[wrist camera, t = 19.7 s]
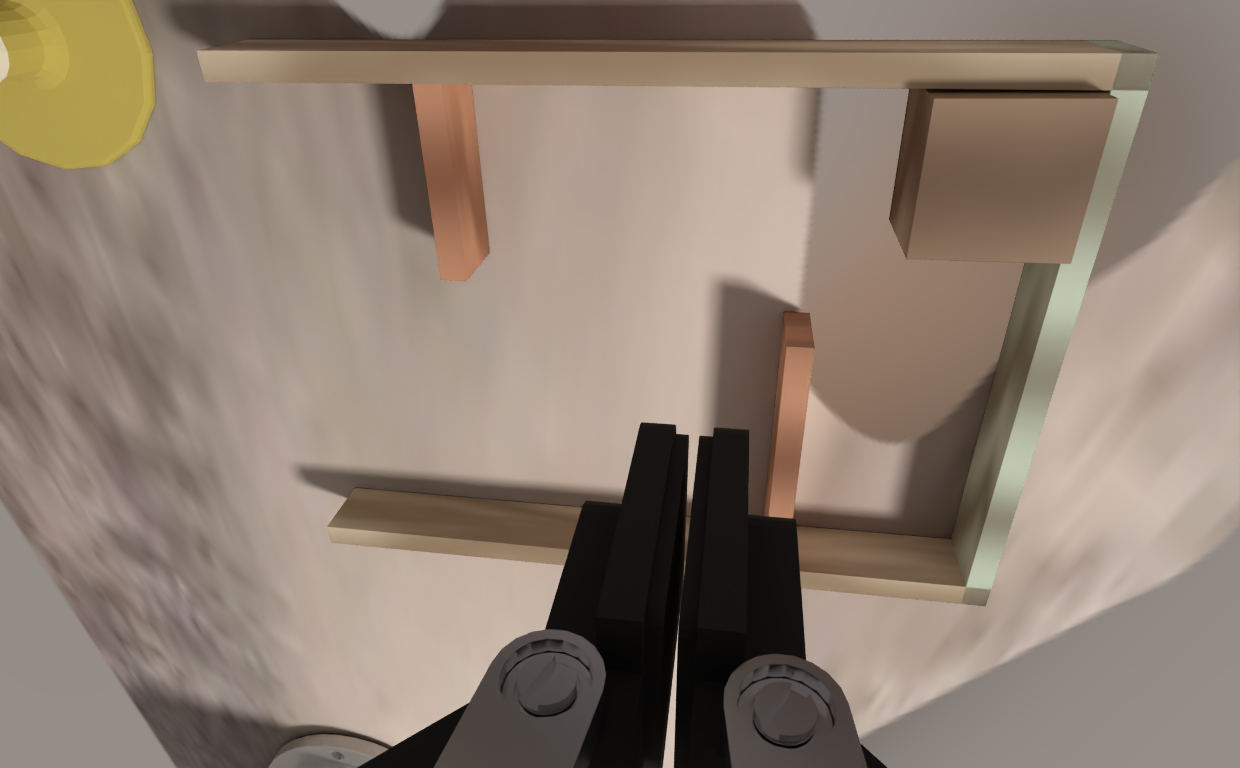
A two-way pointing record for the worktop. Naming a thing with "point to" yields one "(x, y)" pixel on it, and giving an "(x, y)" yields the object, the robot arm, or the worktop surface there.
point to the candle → (74, 80)
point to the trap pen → (1020, 375)
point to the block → (997, 172)
